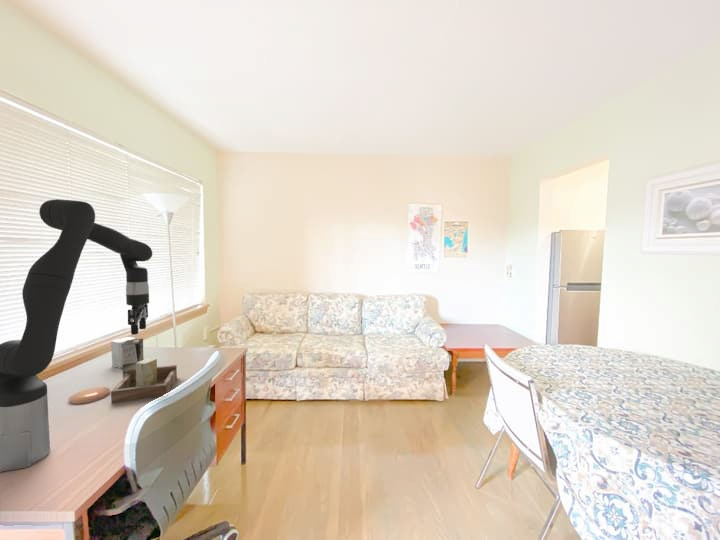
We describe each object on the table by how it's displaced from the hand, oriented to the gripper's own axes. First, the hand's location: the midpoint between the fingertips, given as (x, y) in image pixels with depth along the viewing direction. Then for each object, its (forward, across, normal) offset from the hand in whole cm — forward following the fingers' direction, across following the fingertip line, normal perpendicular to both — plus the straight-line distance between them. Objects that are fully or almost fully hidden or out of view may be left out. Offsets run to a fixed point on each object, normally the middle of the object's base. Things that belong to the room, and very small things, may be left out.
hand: (138, 331), depth 123 cm
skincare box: (+25, -1, -3) cm, 25 cm away
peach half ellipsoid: (+24, -2, +16) cm, 30 cm away
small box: (+25, +33, +18) cm, 45 cm away
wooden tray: (+24, -1, -3) cm, 25 cm away
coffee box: (+25, +17, +8) cm, 31 cm away
